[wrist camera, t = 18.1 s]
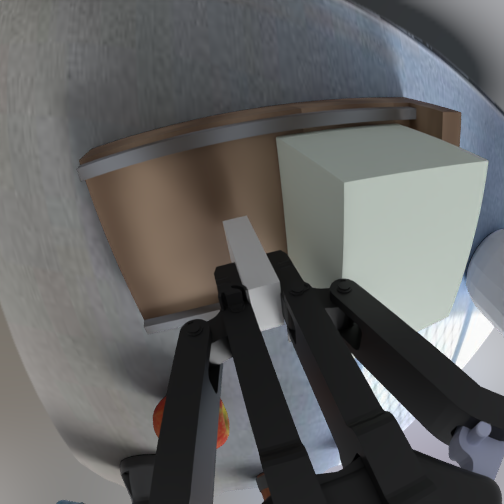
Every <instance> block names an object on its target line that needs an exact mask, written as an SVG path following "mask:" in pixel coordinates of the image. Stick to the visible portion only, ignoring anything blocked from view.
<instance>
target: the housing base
mask: <svg viewBox="0 0 504 504" xmlns="http://www.w3.org/2000/svg"><path fill="white" fill-rule="evenodd" d="M381 124H400V125H403V126H406V127H409V128H411V129H414V130H417V131H420V132H423V133H425V134H428V135H430V136H433V137H436V138H438V139H441V140H443V141H446V142H448V143H450V144H453V145H455V146H457V147H459V146H460V131H461V112H458V111H455V110H452V109H448V108H445V107H441V106H437V105H434V104H430V103H426V102H422V101H418V100H413V99H409V98H405V97H374V98H348V99H332V100H319V101H308V102H298V103H290V104H281V105H274V106H267V107H260V108H253V109H247V110H241V111H235V112H230V113H225V114H219V115H214V116H209V117H205V118H200V119H195V120H191V121H187V122H182V123H178V124H174V125H170V126H166V127H162V128H158V129H155V130H151V131H147V132H144V133H140V134H137V135H134V136H130V137H127V138H124V139H120V140H117V141H114V142H111V143H108V144H105V145H102V146H99V147H96V148H93V149H91V150H90V151H89V152H88V153H87V154H85V155H84V156H83V157H82V158H81V159H80V160H79V162H80V166H79V167H78V168H77V172H78V175H79V178H80V181H84V180H85V181H86V184H87V186H88V189H89V192H90V195H91V198H92V201H93V203H94V206H95V209H96V212H97V214H98V217H99V220H100V222H101V225H102V227H103V230H104V232H105V235H106V237H107V240H108V242H109V245H110V247H111V249H112V252H113V254H114V256H115V259H116V261H117V263H118V266H119V268H120V270H121V272H122V275H123V277H124V279H125V281H126V283H127V286H128V288H129V290H130V292H131V294H132V296H133V298H134V300H135V302H136V304H137V306H138V308H139V310H140V312H141V314H142V316H143V318H144V328H145V330H146V332H147V334H151V333H156V332H160V331H165V330H169V329H174V328H178V327H182V326H183V325H184V324H185V323H186V322H188V321H190V320H193V319H203V320H205V321H208V320H211V319H212V318H214V317H215V316H216V315H217V314H218V313H219V311H220V309H221V307H220V303H219V300H218V290H217V285H216V281H215V277H214V272H215V269H216V267H217V266H221V265H225V264H229V263H232V261H231V258H230V253H229V249H228V244H227V240H226V235H225V231H224V226H223V221H226V220H230V219H234V218H238V217H242V216H247V217H248V219H249V221H250V223H251V225H252V227H253V229H254V231H255V233H256V235H257V237H258V239H259V241H260V243H261V245H262V247H263V249H264V251H265V253H270V252H274V251H278V250H282V251H283V252H285V253H287V254H288V249H287V238H286V227H285V217H284V207H283V197H282V188H281V178H280V169H279V160H278V152H277V143H276V137H278V136H284V135H291V134H297V133H305V132H312V131H320V130H328V129H337V128H346V127H357V126H368V125H381Z"/></svg>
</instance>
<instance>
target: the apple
mask: <svg viewBox="0 0 504 504" xmlns="http://www.w3.org/2000/svg"><path fill="white" fill-rule="evenodd" d="M165 401H166V397H164V398H163V399H162V400H161V401H160V402H159V404H158V405H157V406H156V408H155V410H154V414H153V426H154V430H155V433H156V435H157V436H158V438H159V433H160V428H161V422H162V417H163V411H164V406H165ZM228 436H229V419H228V415H227V412H226V409H225V407H224V404H223V402H222V400H221V399H220V407H219V420H218V433H217V448H219V447H220V446H222V445H223V444H224V443H225V442H226V440H227V438H228ZM217 448H216V449H217Z"/></svg>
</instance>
